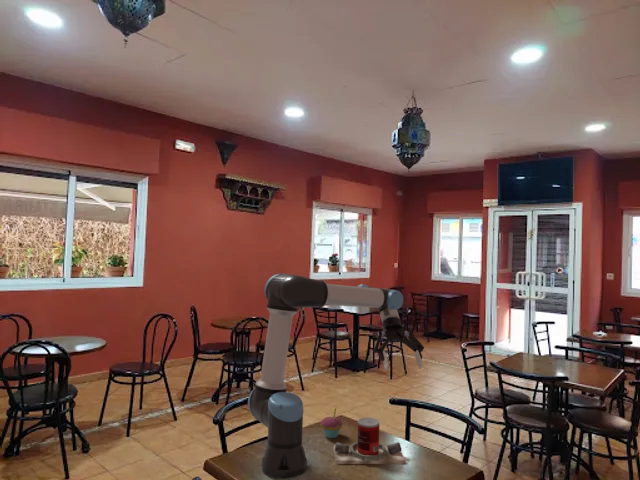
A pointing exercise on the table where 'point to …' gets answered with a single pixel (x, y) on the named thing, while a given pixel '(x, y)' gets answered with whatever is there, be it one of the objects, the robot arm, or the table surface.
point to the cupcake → (331, 426)
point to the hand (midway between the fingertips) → (404, 367)
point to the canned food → (368, 436)
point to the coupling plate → (384, 456)
